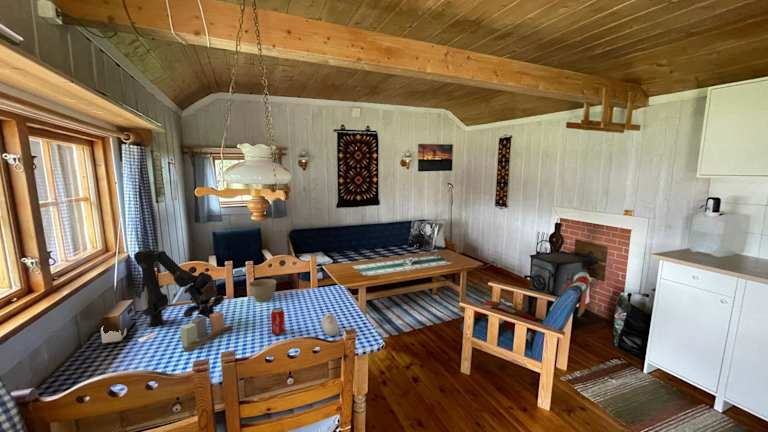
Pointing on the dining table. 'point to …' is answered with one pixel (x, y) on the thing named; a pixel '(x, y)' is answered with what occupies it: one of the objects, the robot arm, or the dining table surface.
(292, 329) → the dining table surface
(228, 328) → the key console
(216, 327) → the key terracotta
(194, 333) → the key sage
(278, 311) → the soda can
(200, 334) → the key grey
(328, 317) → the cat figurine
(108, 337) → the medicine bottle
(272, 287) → the planter bowl
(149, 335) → the tile
